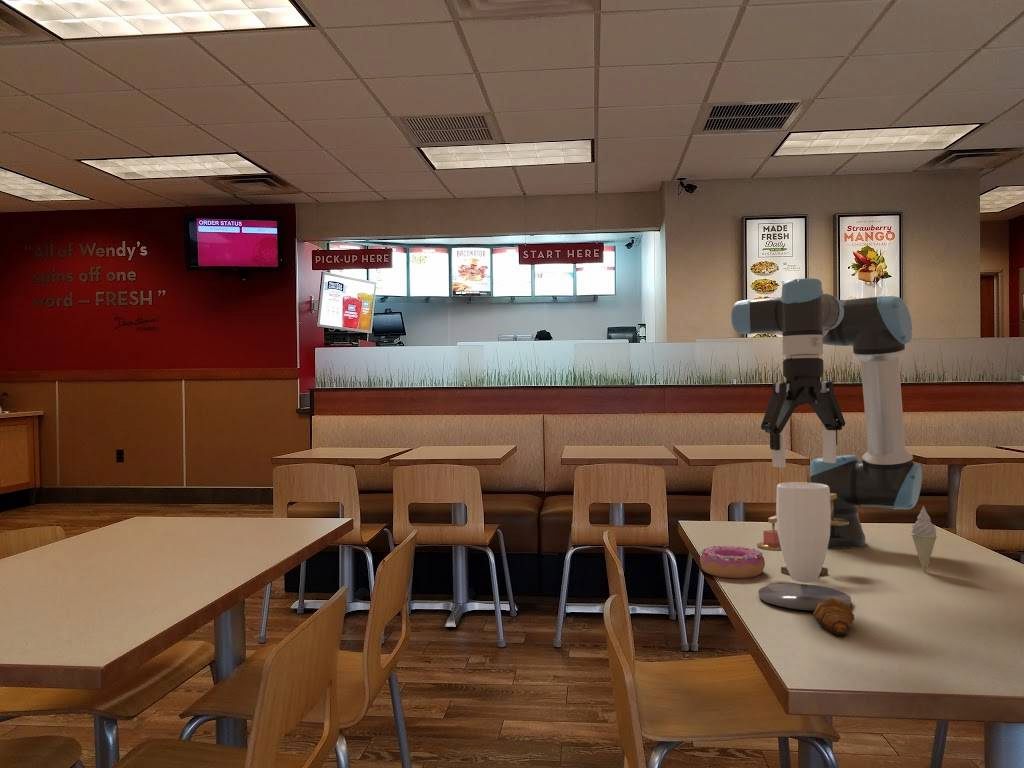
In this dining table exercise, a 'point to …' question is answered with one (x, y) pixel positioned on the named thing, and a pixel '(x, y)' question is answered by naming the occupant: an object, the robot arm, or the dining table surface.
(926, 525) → the ice cream cone
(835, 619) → the croissant
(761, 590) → the grey flat disc
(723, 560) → the donut
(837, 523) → the balance
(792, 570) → the cup
